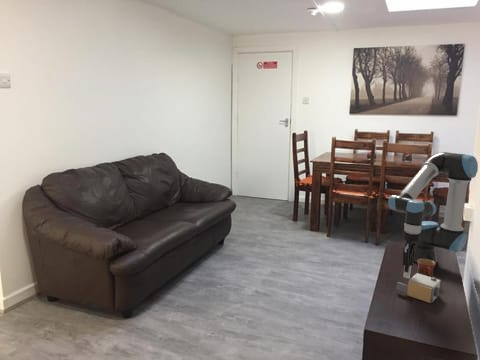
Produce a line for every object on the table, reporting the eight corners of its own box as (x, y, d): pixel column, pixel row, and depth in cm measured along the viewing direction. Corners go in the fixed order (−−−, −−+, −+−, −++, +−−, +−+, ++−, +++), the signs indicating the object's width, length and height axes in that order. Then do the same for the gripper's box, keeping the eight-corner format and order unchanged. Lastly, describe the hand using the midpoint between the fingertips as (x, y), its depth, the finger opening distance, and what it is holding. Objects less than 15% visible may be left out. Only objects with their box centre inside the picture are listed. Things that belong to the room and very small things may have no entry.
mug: (413, 275, 213) (415, 257, 211) (430, 277, 211) (433, 259, 209) (418, 285, 201) (420, 267, 199) (437, 287, 200) (439, 268, 197)
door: (397, 290, 195) (398, 276, 193) (432, 303, 184) (434, 288, 182) (396, 291, 194) (397, 277, 192) (431, 304, 183) (433, 289, 181)
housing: (415, 287, 199) (417, 271, 197) (441, 296, 191) (443, 279, 189) (407, 294, 192) (409, 277, 190) (434, 303, 183) (436, 286, 182)
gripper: (409, 227, 198) (403, 271, 203) (399, 232, 189) (393, 278, 194) (424, 231, 193) (418, 275, 198) (415, 236, 184) (409, 284, 189)
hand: (406, 277), depth 196 cm, fingers closed
